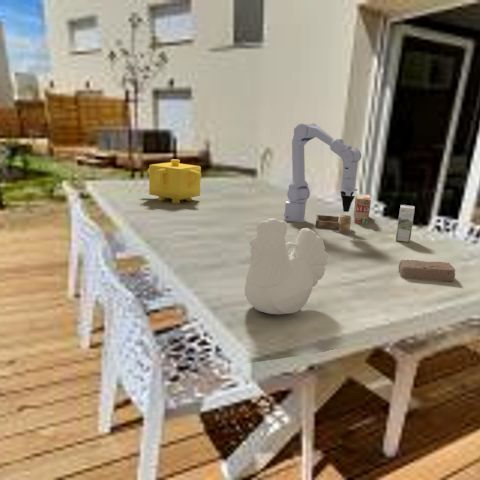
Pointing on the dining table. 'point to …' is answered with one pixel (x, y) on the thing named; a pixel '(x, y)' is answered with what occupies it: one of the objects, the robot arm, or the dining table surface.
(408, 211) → the syrup box
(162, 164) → the cube teapot
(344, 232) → the slate coaster
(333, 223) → the crate
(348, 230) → the oak block
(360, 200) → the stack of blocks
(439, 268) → the brick
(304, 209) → the robot arm
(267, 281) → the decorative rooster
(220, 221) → the dining table surface
